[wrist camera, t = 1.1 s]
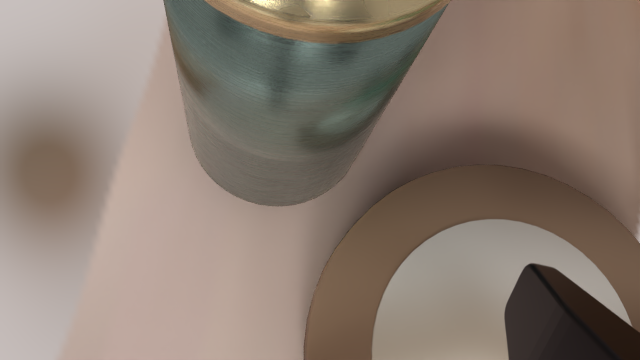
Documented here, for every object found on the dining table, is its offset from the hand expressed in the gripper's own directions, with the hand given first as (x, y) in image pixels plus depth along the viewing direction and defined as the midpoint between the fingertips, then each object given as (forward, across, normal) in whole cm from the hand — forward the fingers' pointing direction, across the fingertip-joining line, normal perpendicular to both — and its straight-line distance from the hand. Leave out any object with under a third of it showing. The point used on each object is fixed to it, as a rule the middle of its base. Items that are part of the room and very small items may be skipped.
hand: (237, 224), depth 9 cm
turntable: (+8, -9, +8) cm, 15 cm away
